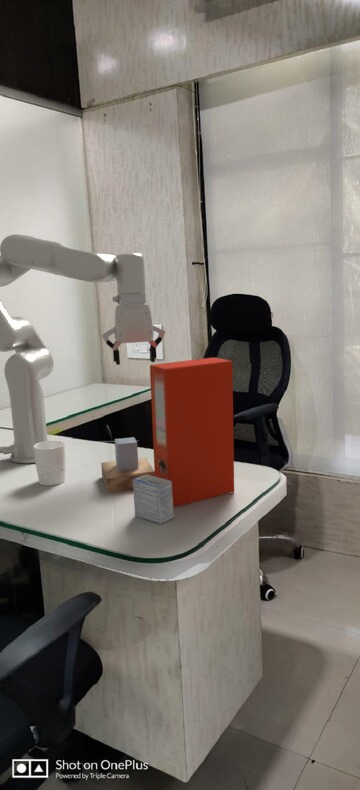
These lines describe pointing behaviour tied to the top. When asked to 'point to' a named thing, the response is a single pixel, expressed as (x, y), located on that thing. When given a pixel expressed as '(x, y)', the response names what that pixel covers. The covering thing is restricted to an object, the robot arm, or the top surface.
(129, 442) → the block
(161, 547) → the top surface
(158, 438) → the file binder
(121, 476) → the pedestal
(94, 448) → the top surface
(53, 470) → the white cup
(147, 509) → the medicine box
